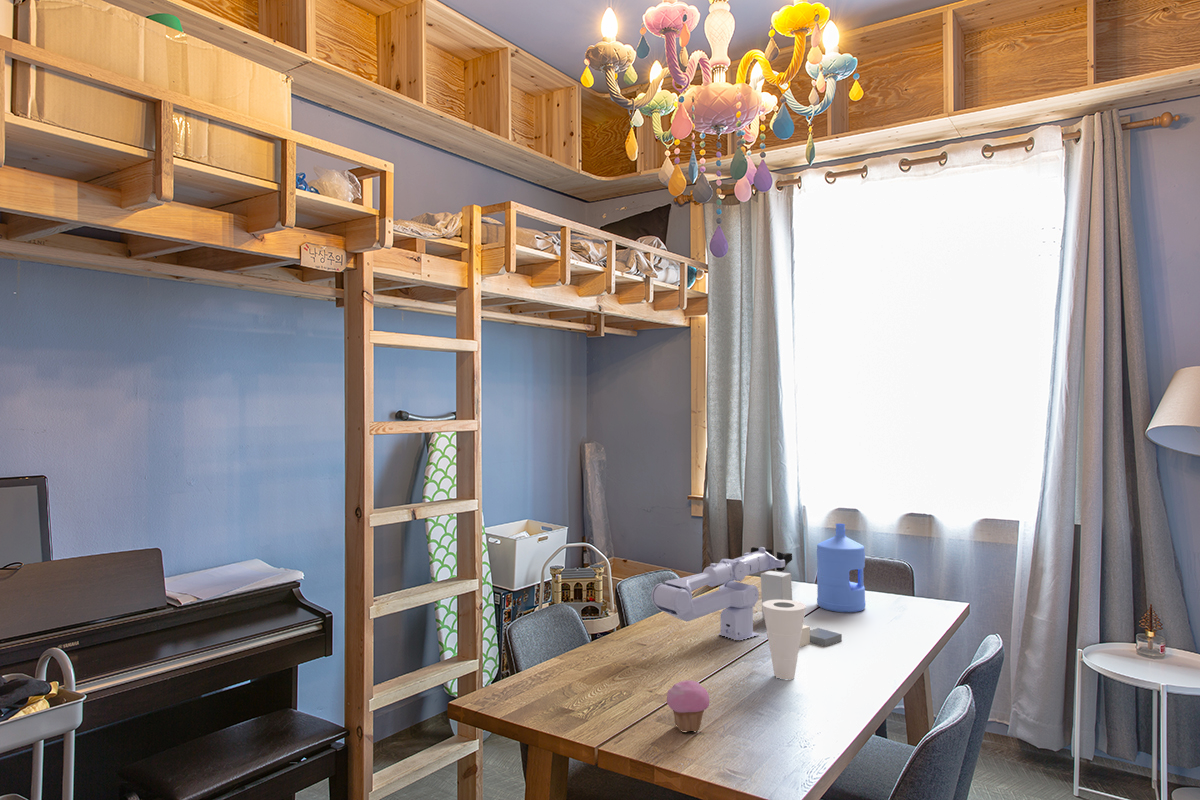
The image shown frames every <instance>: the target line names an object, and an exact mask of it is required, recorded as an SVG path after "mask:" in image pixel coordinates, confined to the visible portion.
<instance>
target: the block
mask: <svg viewBox="0 0 1200 800" xmlns="http://www.w3.org/2000/svg"><path fill="white" fill-rule="evenodd" d="M807 644H808V645H810V644H811V642H810V626H809V625H805V624H803V628H802V634H801V640H800V646H802V647H804V645H805V646H807Z"/></svg>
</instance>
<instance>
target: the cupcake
mask: <svg viewBox="0 0 1200 800" xmlns="http://www.w3.org/2000/svg"><path fill="white" fill-rule="evenodd" d="M666 704H667V705H668V707H669V708H670V709H671V710H672V712H673V715H674V723H675V726H676V725H677V726H678V728H679V729H680V730H682V731H698V730H699V731H700V728H701V725H702V719H703V715H704V712H705V710H707V709H708V708H709V706H710V695H709V693H708V690H707V689H706V688H704V687H703V686H702V685H701V683H699V682H698V681H696V680H690V679H689V680H688V679H687V680H682V681H681V680H680V681H679V682H676V683H675V684H673V685H672V687H671V688H669V689H668V691H667V694H666ZM678 728H677V729H678ZM679 729H678V730H679ZM680 730H679V731H680ZM699 731H698V732H699Z"/></svg>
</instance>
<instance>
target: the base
mask: <svg viewBox="0 0 1200 800" xmlns="http://www.w3.org/2000/svg"><path fill="white" fill-rule="evenodd" d="M842 635H843V634H842V633H839V632H835V631H831V630H828V629H824V628H820V627H817V628H813V629H811V630H810V643H811V642H812V644H814V643H815V645H818V644H819V645H818V646H821V645H823V646H822V647H828V646H831V645H833V643H834V644H837V643H840V642H842V641H843V639H842V638H843V637H842ZM839 641H840V642H839ZM836 642H837V643H836ZM830 644H831V645H830ZM827 645H828V646H827Z"/></svg>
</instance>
